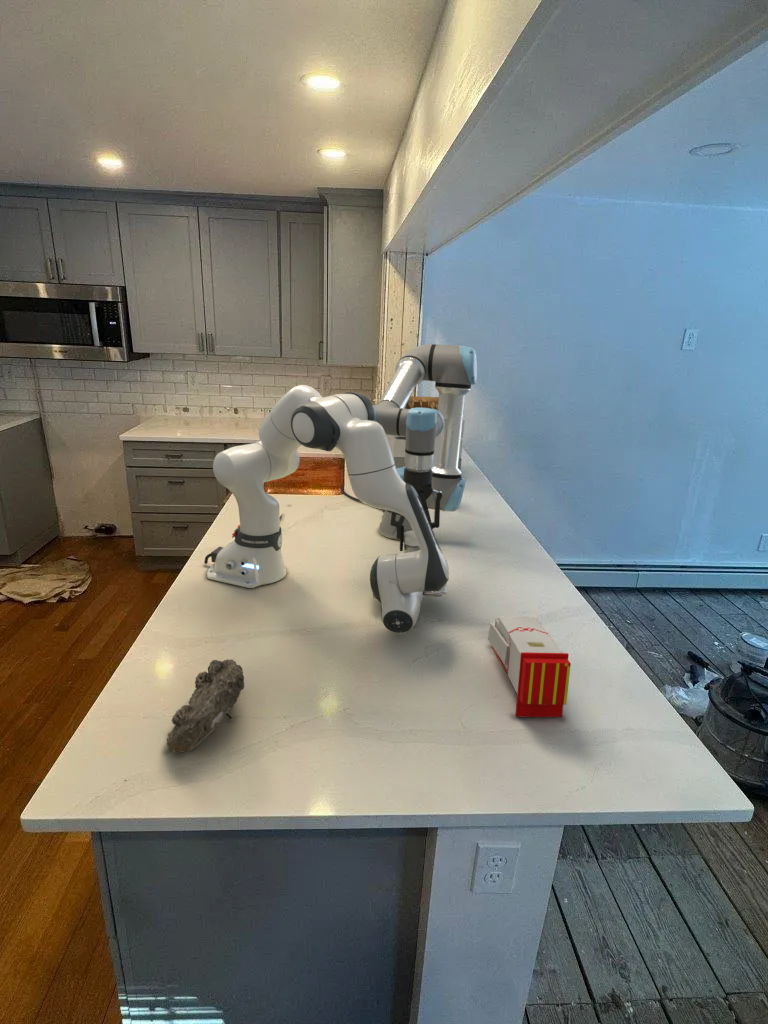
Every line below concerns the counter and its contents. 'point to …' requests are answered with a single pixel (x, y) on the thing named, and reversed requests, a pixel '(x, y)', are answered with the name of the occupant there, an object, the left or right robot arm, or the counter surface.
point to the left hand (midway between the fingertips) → (411, 568)
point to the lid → (410, 539)
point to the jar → (410, 548)
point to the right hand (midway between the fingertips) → (413, 549)
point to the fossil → (206, 705)
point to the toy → (531, 665)
